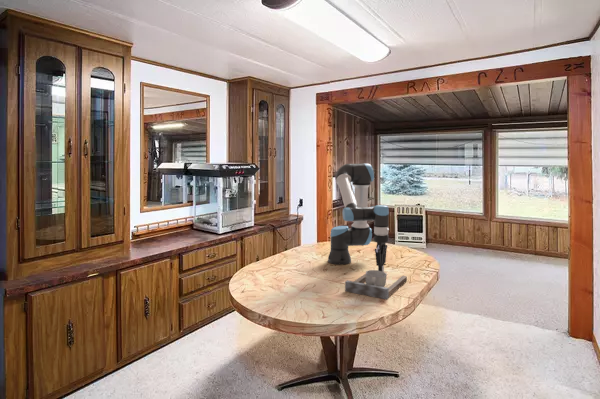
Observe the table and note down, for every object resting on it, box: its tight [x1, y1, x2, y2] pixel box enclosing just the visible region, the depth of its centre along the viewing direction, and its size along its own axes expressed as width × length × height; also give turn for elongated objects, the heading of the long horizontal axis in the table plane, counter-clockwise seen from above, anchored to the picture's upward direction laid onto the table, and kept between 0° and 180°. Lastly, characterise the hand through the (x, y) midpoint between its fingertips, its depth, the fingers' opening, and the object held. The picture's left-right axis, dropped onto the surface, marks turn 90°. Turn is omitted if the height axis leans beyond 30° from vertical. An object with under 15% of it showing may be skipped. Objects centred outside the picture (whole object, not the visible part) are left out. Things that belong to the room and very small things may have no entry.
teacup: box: [365, 269, 388, 287], centre depth 191 cm, size 14×11×8 cm
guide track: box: [344, 273, 408, 300], centre depth 195 cm, size 22×32×5 cm
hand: (380, 277), depth 199 cm, fingers closed
